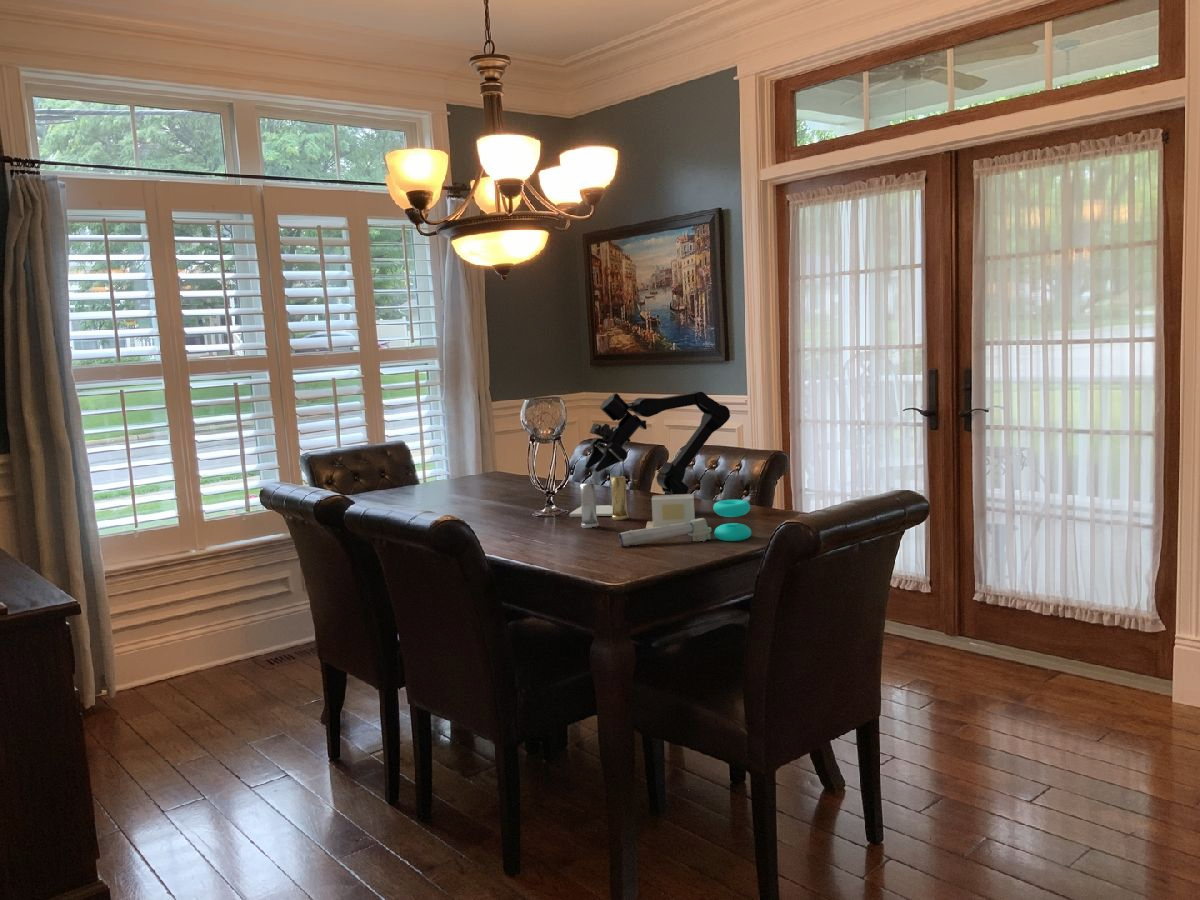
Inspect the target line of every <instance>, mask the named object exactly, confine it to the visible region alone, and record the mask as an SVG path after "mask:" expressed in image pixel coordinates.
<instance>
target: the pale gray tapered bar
mask: <svg viewBox="0 0 1200 900" xmlns="http://www.w3.org/2000/svg"><path fill="white" fill-rule="evenodd" d="M712 531H713V529H712V527H709V526H708V523H707V520H706V519H705V518H704V517H701V518H700V517H699V518H695V519H694V520H691V522H686V523H679V524H672V525H666V526H659V527H652V528H646V527H645V528H641V529H634V530H632V529H629V530H628V531H623V532H619V533H618V534H617V535H618V540H619V541H618V542H619V545H620V547H621V546H626V547H630V546H629V545H632V546H633V545H635V546H636V545H640V544H646V543H650V542H656V541H659V540H664V539H670V538H672V537H678V536H681V535H682V536H683V535H686V534H688V536H689V537H690V541H691V540H692V541H696V542H700V541H703V542H706V540H709V541H710V540H711V539H712V533H711V532H712ZM692 541H691V542H692Z"/></svg>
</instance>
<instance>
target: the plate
mask: <svg viewBox="0 0 1200 900" xmlns="http://www.w3.org/2000/svg"><path fill="white" fill-rule="evenodd" d="M596 514H597V516H612V515H613V509H612V504H611V505H607V504H606V505H605V504H604V505H600V504H599V505H597V504H596ZM568 515H569V518H573V517H574V518H577V517H578V518H582V510H581V506H579V507H577V508H575V510H573V511H571V512H570V513H569V514H568Z"/></svg>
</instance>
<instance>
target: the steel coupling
mask: <svg viewBox="0 0 1200 900" xmlns="http://www.w3.org/2000/svg"><path fill="white" fill-rule="evenodd" d="M579 489H580V504H581V505H580V507H581V510H582V517H581V521H582V522H580V528H581V527H582V529H593V528H592V527H596V528H598V527H599V522H598V520H597V519H598V517H597V514H596V505H597V499H596V498H597V497H596V483H595V482H582V483H579ZM597 526H598V527H597Z"/></svg>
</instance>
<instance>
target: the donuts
mask: <svg viewBox="0 0 1200 900" xmlns="http://www.w3.org/2000/svg"><path fill="white" fill-rule="evenodd" d="M712 508H713V511H714V513H715V514H717V515H718V516H720V517H721V516H722V517H725V518H726V517H730V518H735V517H742V516H744V515H746V514H748V513H749V512H750V511H751V504H750V502H749V501H747V500H743V499H724V500H723V499H722V500H717V502H715V503H714V504H713V507H712ZM751 535H752V530H751V528H750V527H749V526H748V525H746V524H743V523H736V522H732V523H723V524H721V525H718V526H717V527H716V528H715V529H714V537H715V538H717V539H718V540H721V541H724V542H725V541H726V542H739V541H745V540H746V539H749V538H750V537H751Z"/></svg>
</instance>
